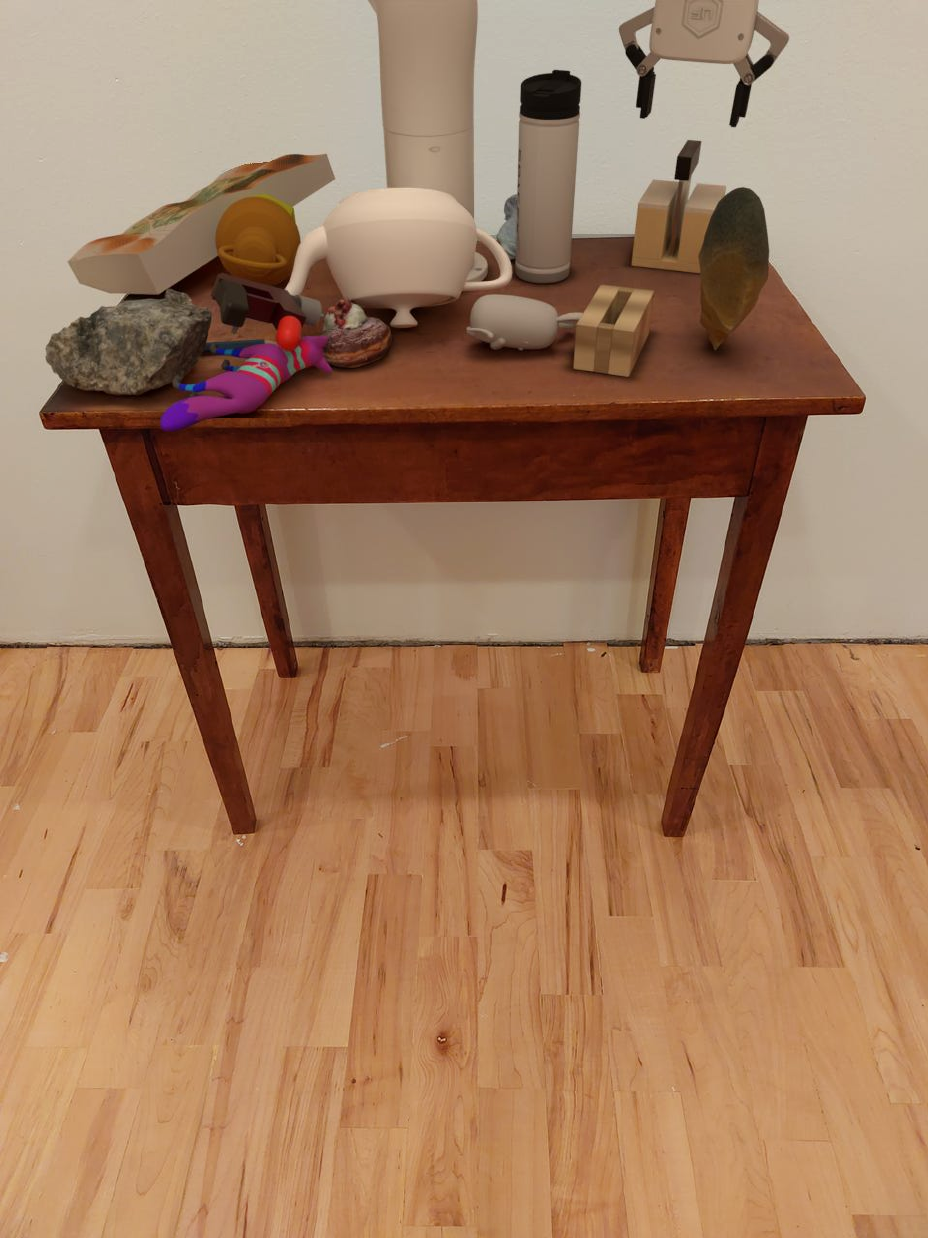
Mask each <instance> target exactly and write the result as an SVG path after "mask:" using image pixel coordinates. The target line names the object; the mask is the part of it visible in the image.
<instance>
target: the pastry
mask: <svg viewBox="0 0 928 1238" xmlns="http://www.w3.org/2000/svg"><path fill="white" fill-rule="evenodd" d="M322 323H323V327H322V331H321V332H320V333H319V334H318V335H317V336H316V337H319V336H324V337H328V341H327V343H326V345H325V346H324V347H323V353H324V358H325V360H326V361H327V363H328V364H329V365H332V366H335V367H340V368H347V369H349V368H350V369H351V368H354V369H356V368H358V367H361V366H365V365H368V364H370V363H373V362H376V361H378V360H380V359H382V358H383V357H385V356H386V354H387V352H388V351H389V349H390V347H391V345H392V340H393V338H392V333H391V328H390V327H389V326H388V325H387V324H386V323H384V321H383V320H381V319H380V318H377V317H375V316H374V317H373V316H367V315H366V314H365V312H364V309H363V307H359V306H358V305H356V304H352V303H351V301H350V300H349V298H348V297H343V296H342V297H341V299H340V300H338V301H337V302H336V303H335V304H334V305H332V306H331V307H327V313H326V315H324V319H323V320H322Z"/></svg>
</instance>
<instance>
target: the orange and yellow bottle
mask: <svg viewBox="0 0 928 1238" xmlns="http://www.w3.org/2000/svg"><path fill="white" fill-rule="evenodd" d="M301 241H302V240H301V235H300V230H299V227H298V225H297V223H296V215H295V207H294V206H293V207H291V206H289V205H287V204H285V203H283V202H281V201H279V200H277V199H275V198H273V197H271V196H269V195H267V194H260V195H255V196H251V197H246V198H243V199H240V200H238V201H236V202H234V203H233V204H232V205H230V206H229V207H228V208H227V209H226V211H225V212H224V214H223V215H222V217H221V219H220V221H219V223H218V226H217V229H216V236H215V242H216V249H217V253H218V256H217V257H218V258H219V261H220V262H221V264H222V265H223V267H224V268H225V270H226V271H227V273H228V274H229V275H232V276H236V277H239V278H243V279H246V280H250V281H254V282H257V283H261V284H264V285H270V286H273V287H274V286H277V285H278V284H280V283H282V282H284V281H285V280H286V279H288V278H290V277H291V275H292V271H293V267H294V261H295V257H296V253H297V250H298V247H299V245H300V243H301Z"/></svg>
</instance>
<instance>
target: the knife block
mask: <svg viewBox="0 0 928 1238" xmlns="http://www.w3.org/2000/svg"><path fill="white" fill-rule="evenodd" d="M654 296H655V290H650V289H642V288H634V287H625V286H616V285H610V284H609V285H607V284H600V285H599V287H598V288H597V290H596V292H595V294H594V295H593V296H592V298H591V300H590V301H589V303H588V305H587V306H586V308H585V309H584V311H583V312H582V313H583V315H582V316H581V318H580V319H579V321H578V323H577V324H576V325H575V338H574V339H575V340H574V352H573V353H574V354H573V367H572V368H573V370H578V371H586V372H594V373H599V374H605V375H606V374H607V375H612V376H620V377H625V378H626V377H627V378H629V377H630V376H631V373H632V371H633V369H634V367H635V365H636V363H637V361H638V358H639V356H640V354H641V352H642V350H643V347H644V345H645V343H646V341H647V339H648V337H649V334H650V328H651V320H652V312H653V304H654V298H655V297H654Z"/></svg>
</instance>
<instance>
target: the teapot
mask: <svg viewBox="0 0 928 1238" xmlns="http://www.w3.org/2000/svg"><path fill="white" fill-rule="evenodd" d="M300 241H301V243H300V245H299V247H298V250H297V253H296V257H295V261H294V267H293V271H292V273H291V274H290V277H289V282H288V283H287V285H286V287H285V288H284V290H287V291H288V292H289V293H290V295H293V296H295V295H301V296H302V294H303V292H304V289H305V287H306V283H307V280H308V277H309V273H310V270H311V268H312V267H313V266H314V265H315V264H316V263H317V262H319V261H322V260H325V261H326V264H327V267H328V269H329V271H330V273H331V276H332V279H333V280H334V282H335V284H336V286H337V288H338V290H339V292H340V294H341V297H342V298H343V297H348V298H349V300H350V301H351V303H352V304H356V305H358V306H359V307H361V308H365V309H392V310H394V311H395V312H396V314H395V316H394V317H393V318H392V320H391V321H390V323H389V325H390V327H391V328H395V329H410V328H413V327H417V326H418V321H417V320H416V319H415V318H414V316H413V315H412V314H411V310H413V309H414V308H426V307H435V306H442V305H447V304H451V303H454V302H456V301H457V300H459V298H460V297H461V295H462V292H484V291H485V292H486V291H494V290H500V289H502V288H505V287H507V285H509V284H510V283H511V280H512V279H513V266H512V263H511V260H510V259H509V257H508V255H507V253H506V252H505V250H504V249H503V248H502V246H501V245H500V242H498V240H497V239H495V238H494V237H492V236H491V235H490V234H489V233H487V232H485V231H484V230H483V229H481V228H479V227H477V224H476V221H475V218H474V219H473V217H472V216H471V214H470V213H469V212H468V211H467V210H466V209H465V208H464V207H463V206H462V205H460V204H459V203H458V202H457V201H456V199H455V198H454V197H453V196H452V195H449V194H447V193H444V192H441V191H437V190H431V189H423V188H387V187H384V188H375V189H367V190H363V191H359V192H358V191H357V192H355V193H352V194H349V195H347V196H345V197H343V198H342V199H341V200H340V201H339V202H338V204H337V205H336V207H334V208H333V209H332V210H331V211H330V212H329V214H328V215H327V216H326V217H325V219H324V221H323V223H322V225H320V226H317V227H314V228H313V229H312V230H311V231H309V232H308V233H307V234H305V235H304V236H303V238H302V240H300ZM478 241H479V242H480V243H481V244H482V245H484V246H485V247H486V248H487V249H488V250H489V251H490V252H491V254H492V255H493V257H494V258H495V260H496V262H497V265H498V269H499V273H500V274H499V277H498V278H496V279H493V280H488V281H486V280H485V281H481V282H466V279H467V277H468V274H469V271H470V268H471V265H472V262H473V259H474V255H475V252H476V249H477V242H478Z"/></svg>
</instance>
